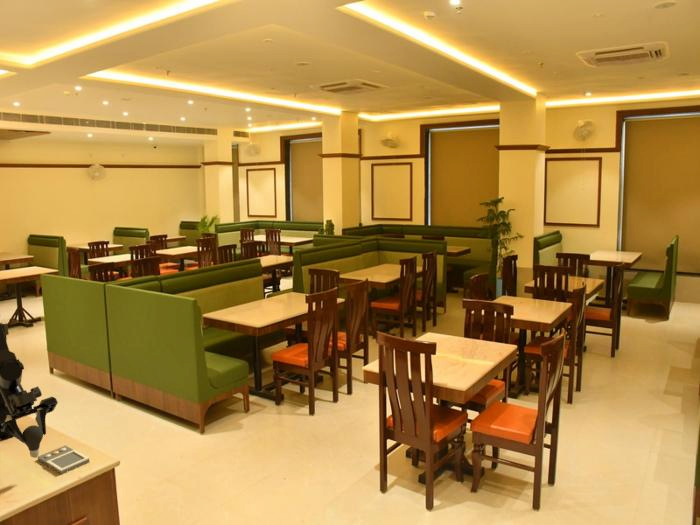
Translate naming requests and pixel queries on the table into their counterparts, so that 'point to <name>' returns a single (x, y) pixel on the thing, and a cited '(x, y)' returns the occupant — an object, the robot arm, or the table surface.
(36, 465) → the table surface
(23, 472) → the table surface
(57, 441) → the table surface
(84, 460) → the indicator board
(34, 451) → the light bulb
